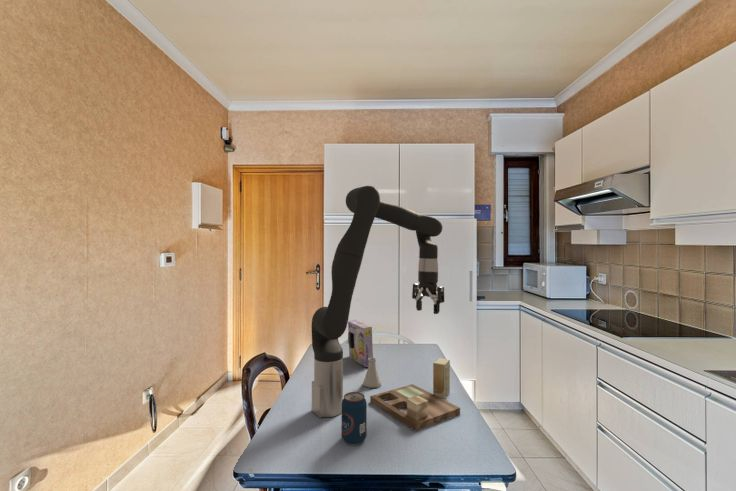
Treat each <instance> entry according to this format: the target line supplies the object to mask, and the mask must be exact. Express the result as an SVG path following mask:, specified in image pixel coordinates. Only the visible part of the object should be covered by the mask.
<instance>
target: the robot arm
mask: <svg viewBox="0 0 736 491" xmlns="http://www.w3.org/2000/svg"><path fill="white" fill-rule="evenodd" d="M345 206H346V208H347V209H348V210H349V211H350V212H351V213H353V217H352V220H351V222H350V225H349V227H348V228H347V229H346V232H345V233H344V234H343V236H342V238H341V239H340V241H339V242H338V244H337V247H336V249H335V252H334V256H333V259H332V262H331V263H332V264H331V272H330V273H331V294H330V299H329V302H328V305H327V306H321V307H319V308H318V309H317V310H316V311H315V312H314V313H313V315H312V318H311V345H312V346H311V348H312V351H313V358H314V360H313V361H314V362H313V363H314V365H313V368H314V369H313V371H314V375H313V376H314V377H313V381H311V412H313V413H314V414H315V415H316V416H317V417H318V418H320V419H321V418H332V417H337V416H338V415H341V414H342V401H343V399H344V384H343V383H344V381H343V380H344V376H343V375H344V352H343V347H342V346H341V344H340V342H339V339H340V338H341V337H342V336H343V335H344V333H345V332H346V329H347V328H348V321H349V317H350V310H351V306H352V305H351V304H352V300H353V295H354V292H355V287H356V284H357V279H358V275H359V272H360V269H361V266H362V262H363V258H364V253H365V250H366V246H367V243H368V239H369V236H370V232H371V228H372V226H373V223H374V220H375V219H378V220H381V221H385V222H387V223H390V224H393V225H396V226H398V227H401V228H403V229H406V230H409V231H415V235H416V239H417V244H418V248H419V252H418V253H419V254H418V255H419V256H418V258H419V259H418V267H417V268H418V271H417V274H418V275H417V276H418V279H417V281H418V283H413V284H412V291H411V292H412V293H411V298H412V299H414V300H415V301H416V305H415V308H416V311H422V310H423V308H422V307H423V301H422V300H423V299H424V297H428V298H430V299H431V300H432V302H433V314H434V315H437V314H440V311H441V310H440V307H441V304H442V303H445V287H444V286H438V283H439V262H438V256H439V252H438V250H439V248H438V245H437V244H436V243H434V242H432V239H431V238H433V237H437V236H440V234H442V231H443V224H442V223H441V222H442V221H440V220H439V219H438V218H436V217H433V216H430V215H427V214H426V215H425V214H422V213H418V212H416V211H414V210H412V209H408V208H406V207H403V206H400V205H397V204H396V205H394V204H390V203H385V202H382V201H381V195H380V193H379V190H378V189H377V188H376V187H374V186H372V185H363V186H360V187H355V188H353V189H352V190H350V191H349V192H348V193H347V195H346V196H345Z"/></svg>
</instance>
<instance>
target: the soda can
mask: <svg viewBox="0 0 736 491" xmlns="http://www.w3.org/2000/svg"><path fill="white" fill-rule="evenodd" d="M365 397H366V396H365V395H364V394H363V393H362V392H359V391H353V392H347V393H346V394H343V401H342V413H341V427H340V428H341V432H340V433H341V434H340V436H341V439H342V440H343V442H344V443H345V444H347V445H349V446H358V445H361V444H363V443H364V441H365V440H366V438H367V433H368V432H367V424H368V421H367V419H368V418H367V414H368V413H367V407H368V405H367V404H368V402H367V399H366V398H365Z"/></svg>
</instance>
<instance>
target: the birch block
mask: <svg viewBox="0 0 736 491" xmlns="http://www.w3.org/2000/svg"><path fill="white" fill-rule="evenodd" d="M406 410H407V414H408V415H410V416H412V417H413V418H415V419H417V420H418V419H420V418H423V417H426V416H428V401H427V400H425V399H424V398H422V397H420V396H415V397H412V398H409V399H407V408H406Z"/></svg>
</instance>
